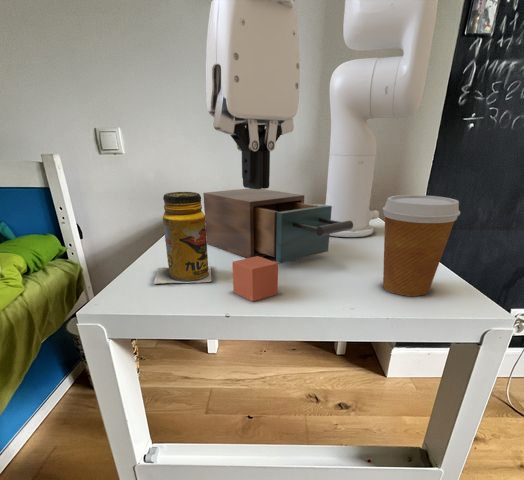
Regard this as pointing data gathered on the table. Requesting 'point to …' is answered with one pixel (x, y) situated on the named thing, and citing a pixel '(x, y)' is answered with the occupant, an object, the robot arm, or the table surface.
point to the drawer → (294, 229)
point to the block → (255, 278)
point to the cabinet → (238, 217)
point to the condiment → (184, 240)
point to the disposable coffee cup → (415, 240)
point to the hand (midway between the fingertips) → (255, 187)
